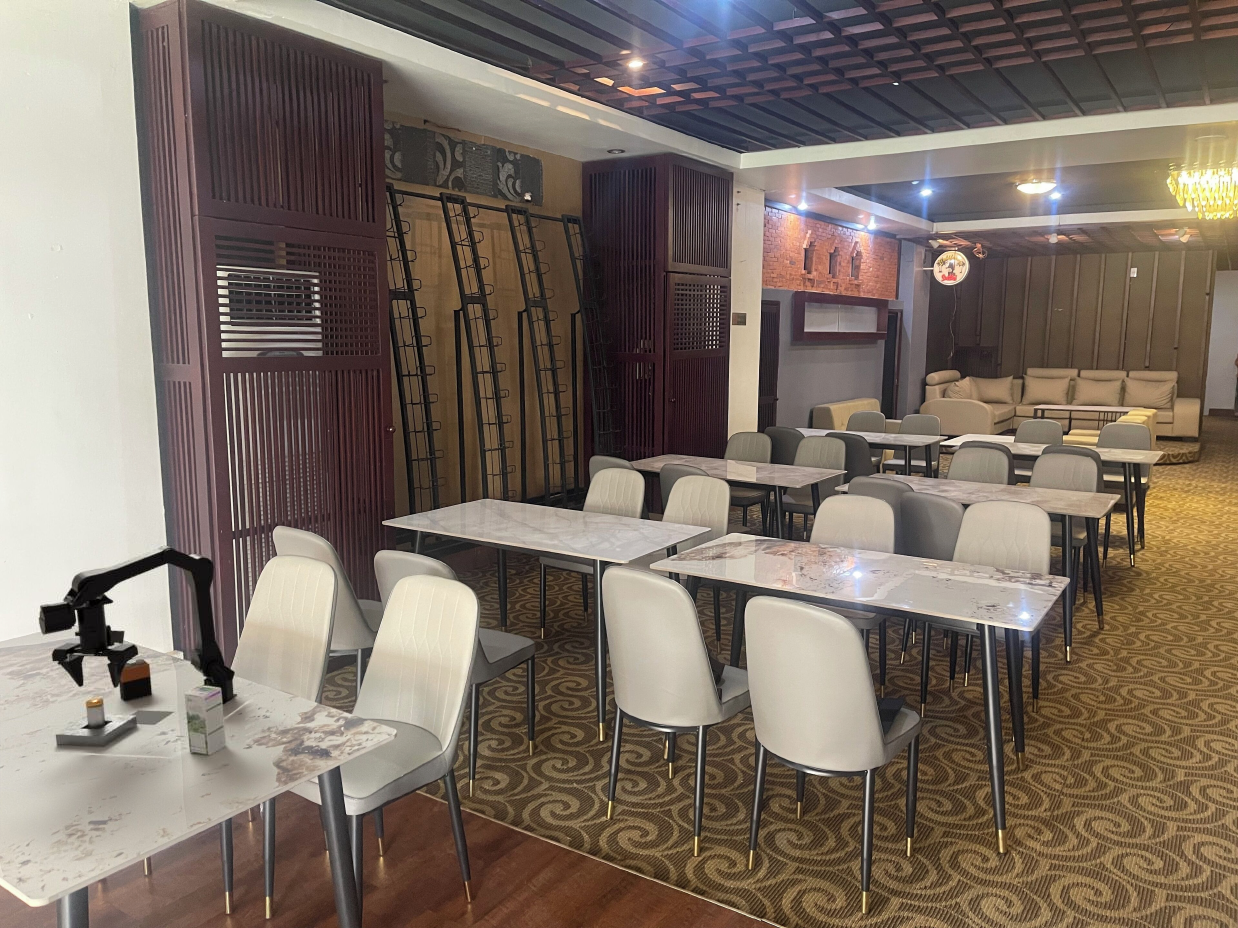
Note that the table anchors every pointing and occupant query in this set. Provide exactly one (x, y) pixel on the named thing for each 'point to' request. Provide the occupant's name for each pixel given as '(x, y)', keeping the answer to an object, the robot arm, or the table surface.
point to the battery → (135, 680)
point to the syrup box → (205, 720)
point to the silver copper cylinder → (95, 713)
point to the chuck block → (96, 731)
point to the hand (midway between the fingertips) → (98, 686)
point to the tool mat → (150, 716)
